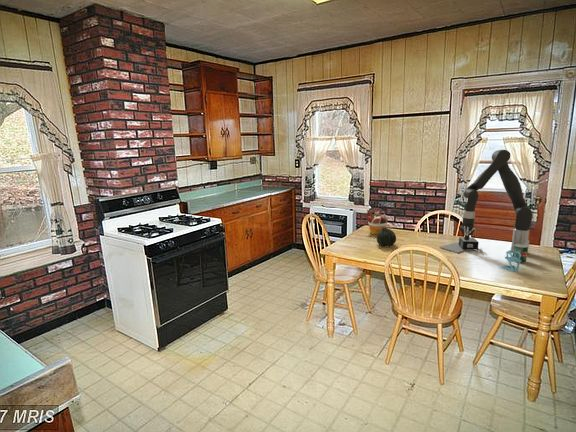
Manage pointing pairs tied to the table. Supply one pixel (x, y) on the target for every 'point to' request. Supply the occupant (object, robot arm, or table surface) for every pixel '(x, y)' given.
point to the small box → (468, 243)
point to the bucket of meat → (376, 222)
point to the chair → (512, 260)
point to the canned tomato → (521, 252)
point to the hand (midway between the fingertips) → (466, 240)
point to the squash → (386, 237)
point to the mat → (453, 248)
